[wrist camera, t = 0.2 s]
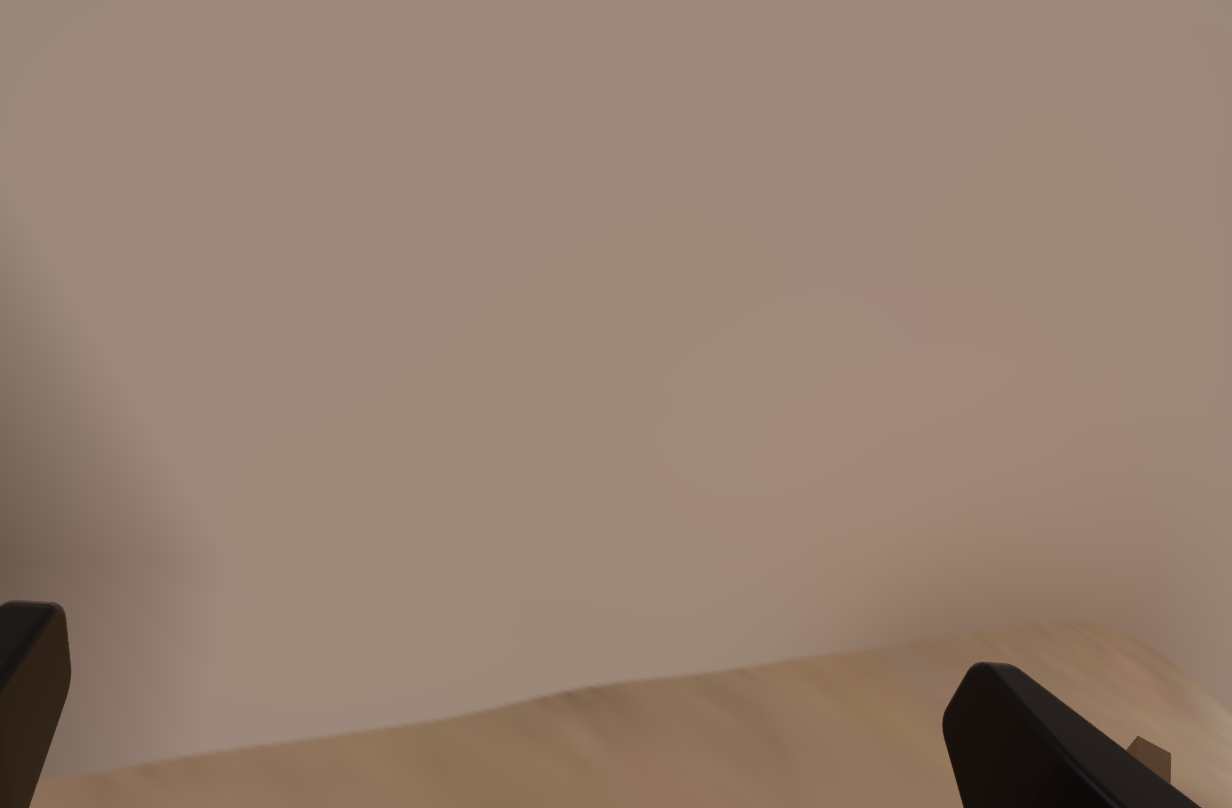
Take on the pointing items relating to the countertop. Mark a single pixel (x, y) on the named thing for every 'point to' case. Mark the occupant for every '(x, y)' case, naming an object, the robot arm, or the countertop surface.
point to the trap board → (1152, 757)
